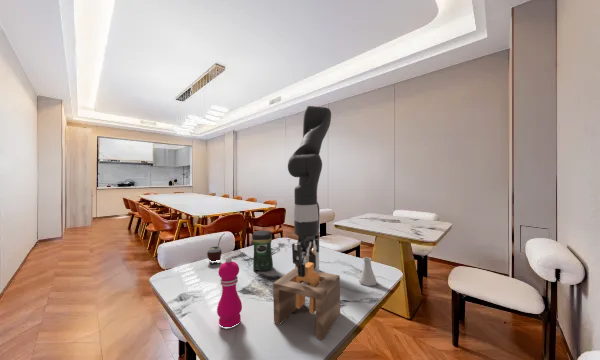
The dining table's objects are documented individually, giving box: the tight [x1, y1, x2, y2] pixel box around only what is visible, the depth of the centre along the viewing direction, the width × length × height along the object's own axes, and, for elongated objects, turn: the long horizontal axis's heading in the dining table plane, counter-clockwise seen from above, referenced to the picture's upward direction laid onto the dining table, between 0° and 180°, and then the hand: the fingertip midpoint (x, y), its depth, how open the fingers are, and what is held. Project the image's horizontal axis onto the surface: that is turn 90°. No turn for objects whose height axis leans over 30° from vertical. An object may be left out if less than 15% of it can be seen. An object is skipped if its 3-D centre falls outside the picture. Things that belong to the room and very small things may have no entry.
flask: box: [358, 256, 378, 287], centre depth 95 cm, size 7×7×10 cm
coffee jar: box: [251, 230, 274, 272], centre depth 112 cm, size 10×8×19 cm
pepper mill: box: [216, 256, 243, 327], centre depth 69 cm, size 7×7×20 cm
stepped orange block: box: [296, 262, 320, 315], centre depth 71 cm, size 6×4×14 cm, turn 61°
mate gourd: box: [206, 232, 225, 261], centre depth 122 cm, size 8×8×15 cm
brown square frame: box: [272, 267, 341, 341], centre depth 71 cm, size 16×14×12 cm
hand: (307, 271), depth 71 cm, fingers open, 7 cm apart
